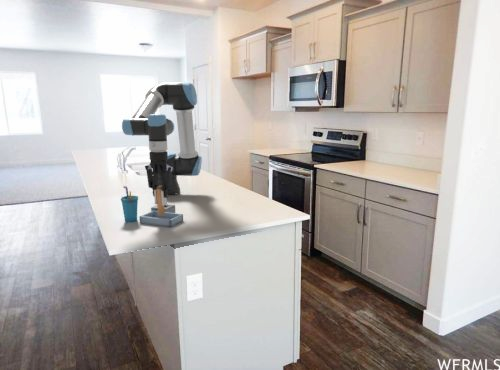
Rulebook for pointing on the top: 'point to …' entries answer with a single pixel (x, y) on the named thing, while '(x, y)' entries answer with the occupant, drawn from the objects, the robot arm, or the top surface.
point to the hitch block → (167, 208)
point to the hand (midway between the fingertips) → (160, 204)
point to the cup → (129, 206)
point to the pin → (160, 202)
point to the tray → (161, 219)
